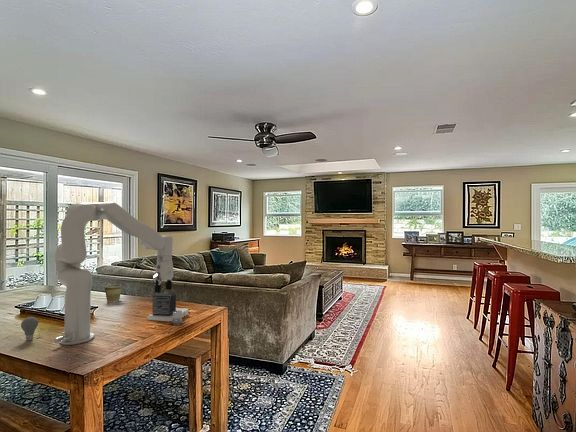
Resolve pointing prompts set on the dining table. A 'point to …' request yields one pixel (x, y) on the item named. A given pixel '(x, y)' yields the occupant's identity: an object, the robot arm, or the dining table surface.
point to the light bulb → (29, 327)
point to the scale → (167, 318)
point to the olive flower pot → (113, 293)
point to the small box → (164, 304)
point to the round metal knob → (177, 317)
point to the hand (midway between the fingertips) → (163, 290)
